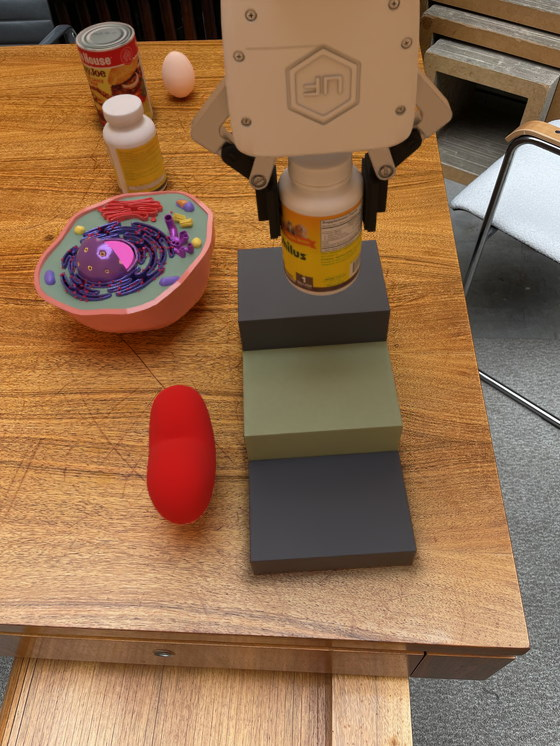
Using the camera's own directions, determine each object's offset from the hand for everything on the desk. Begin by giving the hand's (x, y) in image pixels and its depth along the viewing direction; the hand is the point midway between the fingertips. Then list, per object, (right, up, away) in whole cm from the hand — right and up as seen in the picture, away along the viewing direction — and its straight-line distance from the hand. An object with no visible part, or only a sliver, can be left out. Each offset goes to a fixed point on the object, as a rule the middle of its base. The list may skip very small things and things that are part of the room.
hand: (321, 219), depth 43 cm
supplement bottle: (0, -3, +4) cm, 5 cm away
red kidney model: (-10, -21, +14) cm, 27 cm away
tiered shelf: (+1, -16, +17) cm, 23 cm away
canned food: (-26, +28, +52) cm, 64 cm away
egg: (-18, +32, +55) cm, 66 cm away
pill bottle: (-21, +14, +42) cm, 49 cm away
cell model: (-18, -2, +29) cm, 34 cm away
